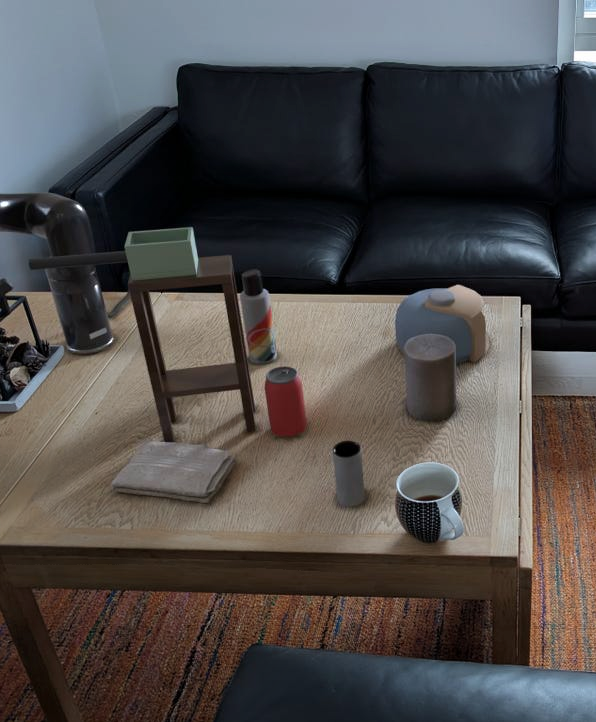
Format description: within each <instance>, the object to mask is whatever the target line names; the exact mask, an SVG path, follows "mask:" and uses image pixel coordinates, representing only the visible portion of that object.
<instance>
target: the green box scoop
mask: <svg viewBox="0 0 596 722" xmlns="http://www.w3.org/2000/svg"><path fill="white" fill-rule="evenodd" d="M198 258H199V256H198V250H197V244H196V239H195V233H194V228H193V227H192V226H190V227H189V226H188V227H178V228H177V227H176V228H163V229H149V230H138V231H128V233H127V236H126V240H125V244H124V250H122V251H121V250H119V251H110V252H98V253H97V252H95V254H83V255H71V256H59V257H51V256H47V257H37V258H35V257H34V258H29V259H28V268H29V270H30V271H38V270H39V271H40V270H45V269H52V268H64V267H76V266H88V265H95V266H96V265H97V266H99V265H109V264H110V265H111V264H122V263H123V264H124V263H128V269H129V272H130V273H131V277H132V281H135V280H146V279H157V278H168V277H179V276H191V275H197V268H198Z"/></svg>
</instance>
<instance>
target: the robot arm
mask: <svg viewBox="0 0 596 722" xmlns="http://www.w3.org/2000/svg"><path fill="white" fill-rule="evenodd" d="M0 232H3V233H4V232H5V233H15V234H23V235H24V234H25V235H30V236H34V237H38V238H41V239H43V240H46V241H47V245H48V249H49V254H50V257H59V256H71V255H83V254H95V253H96V246H95V240H94V235H93V230H92V226H91V221H90V218H89V216H88V213H87V211H86V208H84V206H83V205H82V204H81V203H79V201H76V200H74V199H71V198H68V197H65V196H63V195H60V194H57V193H52V192H23V193H22V192H20V193H18V192H17V193H1V192H0ZM44 271H45V274H46V278H47V282H48V285H49V288H50V291H51V296H52V298H53V301H54V305H55V308H56V312H57V315H58V319H59V323H60V326H61V330H62V333H63V337H64V340H65V346H66V349H67V351H68V352H70V353H71V354H76V355H91V354H96V353H99V352H102V351H104V350H106V349H108V348H109V347H111V346H112V345H113V343H114V342H115V338H114V334H113V332H112V328H111V323H110V320H109V318H112V317H114V316H115V315H116V314H117V313H118V311H119V310H120V308H121V307H123V305H124V304H125V303H126V302H128V300H129V299H131V296H130V291H129V288H128V290H127V293H126V294H125V296H124V297H122V299H121V300H120V301H119V302H118V303H117V304H116V305H115V306H114V307H113V309H112V310H111V311H110V312H108V311H107V310H108V309H107V307H106V304H105V300H104V296H103V292H102V287H101V283H100V280H99V276H98V273H97V268H96V265H88V266H76V267H64V268H52V269H44ZM13 289H14V284H12V282H10V281H9V280H8V279H7V278H4V277H3V278H1V279H0V299H1V298H2V297H4V296H6V295H7V294H8V293H10V292H11V291H13ZM1 312H2V309H1V308H0V314H1Z"/></svg>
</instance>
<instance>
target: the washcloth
mask: <svg viewBox="0 0 596 722" xmlns="http://www.w3.org/2000/svg"><path fill="white" fill-rule="evenodd" d="M236 462H237V458H236V457H235V456H233V455H230V452H229V451H228V450H224V449H217V448H212V447H209V446H208V445H206V444H188V443H181V442H171V443H170V442H164V441H158V440H147V441H143V442H142V443H141V444H140V445H139V447H138V448H137V449H136V451H135V452H134V453H133V456H132V458H131V459H130V461H129V462H128V464H126V465H124V467H123V468H122V469H121V470H120V471H119V472H118V474H117V475H116V476H115V477H114V478H113V480H112V481H111V483H110V489H111V491H112V492H113V491H114V492H118V493H123V494H130V495H131V494H132V495H139V496H151V497H162V498H169V499H173V500H181V501H186V502H198V503H202V504H209V503H210V501H211V500H212V498H213V496H215V494H216V493H217V492H218V491H219V489H220V488H221V487H222V486H223V484H224V482H225V480H226V479H227V477H228V475H229V474H230V472H231V471H232V469H233V468H234V466H235V465H236Z"/></svg>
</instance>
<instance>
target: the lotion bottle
mask: <svg viewBox="0 0 596 722" xmlns="http://www.w3.org/2000/svg"><path fill="white" fill-rule="evenodd" d="M241 280H242V286H243V287H242V288H243V290H242V291H241V292H240V294H239V298H240V301H239V302H240V306H241V313H242V319H243V325H244V326H243V327H244V332H245V333H244V334H245V339H246V345H247V346H246V347H247V352H248V357H249V361H251V363H254V364H257V365H265V364H270V363H271V362H274V361H275V360H276V358H277V356H278V354H277V345H276V338H275V329H274V322H273V314H272V307H271V301H270V300H271V299H270V293H269V291H268V290H267V289H265V288H264V284H263V277H262V272H261V271H260V270H259V269H256V268H252V269H248V270H246V271H244V272H243V273H242V274H241Z"/></svg>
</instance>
